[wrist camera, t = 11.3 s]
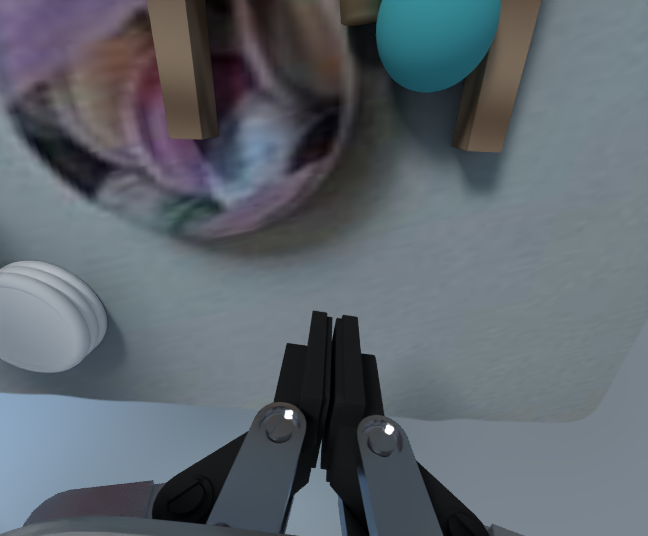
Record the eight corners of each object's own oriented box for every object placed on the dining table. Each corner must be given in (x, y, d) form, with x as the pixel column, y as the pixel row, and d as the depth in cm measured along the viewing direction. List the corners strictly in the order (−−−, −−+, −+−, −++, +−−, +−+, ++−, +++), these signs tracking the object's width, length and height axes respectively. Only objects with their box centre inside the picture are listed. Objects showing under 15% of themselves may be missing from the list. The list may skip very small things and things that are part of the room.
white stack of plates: (125, 297, 29) (99, 320, 26) (92, 365, 33) (65, 392, 29) (10, 236, 27) (-35, 253, 23) (-11, 316, 30) (-52, 340, 27)
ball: (416, 10, 20) (372, 100, 21) (400, -99, 15) (340, 27, 15) (515, 25, 18) (461, 126, 18) (539, -97, 12) (462, 50, 13)
